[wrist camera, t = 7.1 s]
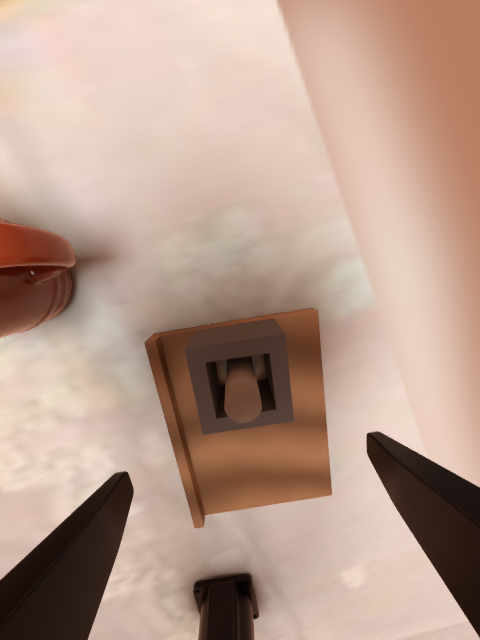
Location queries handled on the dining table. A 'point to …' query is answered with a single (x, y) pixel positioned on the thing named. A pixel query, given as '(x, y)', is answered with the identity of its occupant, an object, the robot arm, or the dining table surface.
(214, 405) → the gray square frame
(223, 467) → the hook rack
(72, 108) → the dining table surface
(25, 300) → the mug
